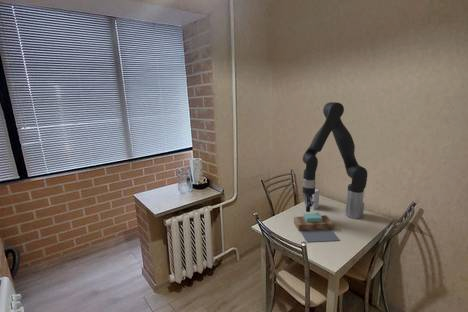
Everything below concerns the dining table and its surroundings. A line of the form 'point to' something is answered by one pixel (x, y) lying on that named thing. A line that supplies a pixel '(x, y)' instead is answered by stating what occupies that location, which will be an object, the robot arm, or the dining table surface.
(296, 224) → the brown wooden tray
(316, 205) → the small box
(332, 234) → the mat
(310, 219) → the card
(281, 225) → the dining table surface
